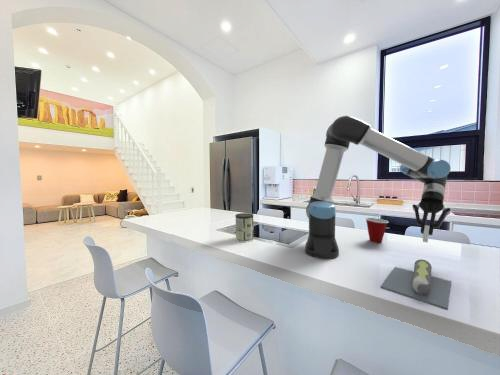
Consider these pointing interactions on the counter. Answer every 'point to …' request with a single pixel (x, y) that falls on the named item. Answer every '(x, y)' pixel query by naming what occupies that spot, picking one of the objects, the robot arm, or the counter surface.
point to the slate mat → (403, 283)
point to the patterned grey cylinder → (422, 276)
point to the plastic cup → (376, 229)
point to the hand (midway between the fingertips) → (425, 240)
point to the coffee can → (244, 227)
